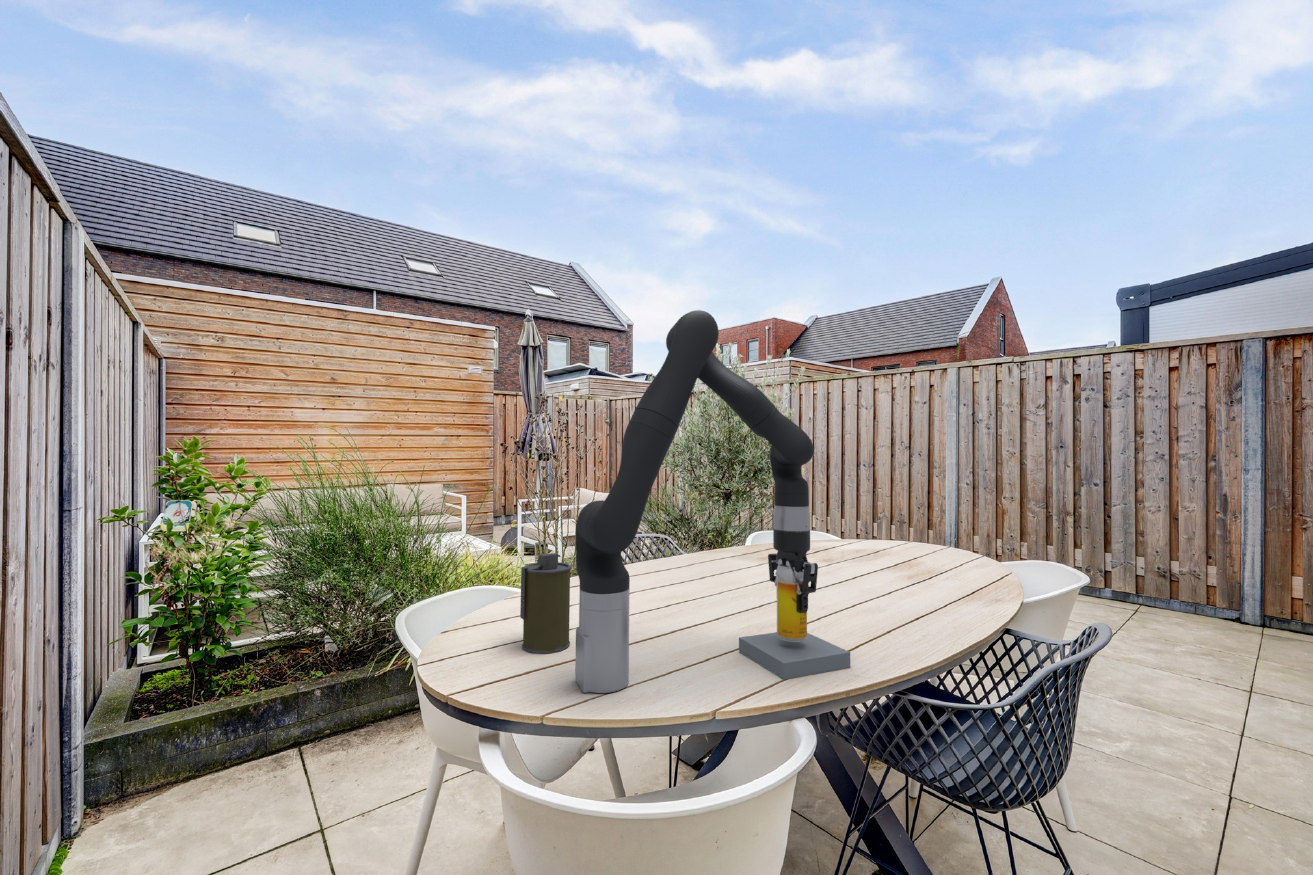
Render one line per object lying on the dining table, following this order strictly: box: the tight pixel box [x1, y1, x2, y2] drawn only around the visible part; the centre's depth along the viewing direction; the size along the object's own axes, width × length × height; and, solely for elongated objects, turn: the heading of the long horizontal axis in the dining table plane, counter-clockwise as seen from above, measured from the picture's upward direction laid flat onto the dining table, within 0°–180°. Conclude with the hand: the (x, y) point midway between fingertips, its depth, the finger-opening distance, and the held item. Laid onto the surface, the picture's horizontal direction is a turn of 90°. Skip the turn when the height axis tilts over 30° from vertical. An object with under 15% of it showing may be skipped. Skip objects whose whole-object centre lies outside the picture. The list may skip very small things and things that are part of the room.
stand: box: [738, 631, 851, 681], centre depth 110 cm, size 16×16×3 cm
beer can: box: [776, 565, 808, 642], centre depth 111 cm, size 6×6×15 cm
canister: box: [519, 552, 572, 655], centre depth 118 cm, size 11×10×20 cm
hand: (791, 608), depth 111 cm, fingers closed on beer can, 6 cm apart
